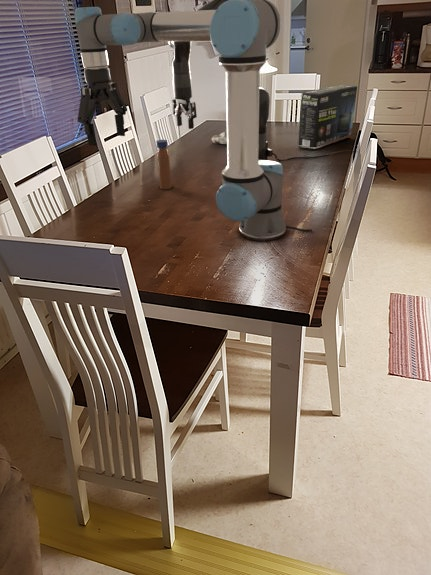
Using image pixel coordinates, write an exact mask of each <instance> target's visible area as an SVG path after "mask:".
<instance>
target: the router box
mask: <svg viewBox="0 0 431 575" xmlns="http://www.w3.org/2000/svg"><path fill="white" fill-rule="evenodd" d="M357 93H358V86H356V85H350V84H339V85H338V84H337V85H334V86H328V87H324V88H318V89H314V90H309V91H304V92H301V93H300V109H299V110H300V111H299V124H298V137H297V146H298V145H302V146H307V147H317V146H320V145H323V144H325V143H328V142H331V141H333V140H336V139H338V138H341V137H344V136H347V135H351V136H352V133H353V132H352V131H353V125H354V115H355V109H356V99H357ZM311 151H313V150H312V149H311Z"/></svg>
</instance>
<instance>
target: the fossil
mask: <svg viewBox="0 0 431 575" xmlns="http://www.w3.org/2000/svg"><path fill="white" fill-rule="evenodd" d="M211 141H212V143H214V144H221V145H227V128H225V130H224V131H222V132H221V133H220V134H215V135H213V136H212V137H211Z"/></svg>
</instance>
